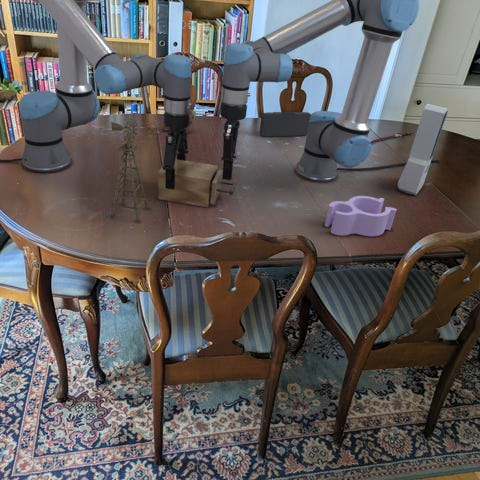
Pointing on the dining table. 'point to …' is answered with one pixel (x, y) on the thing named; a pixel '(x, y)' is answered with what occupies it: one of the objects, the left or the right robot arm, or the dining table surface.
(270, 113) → the handheld gaming console
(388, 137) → the sword
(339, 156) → the right robot arm
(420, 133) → the electronic device
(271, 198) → the dining table surface
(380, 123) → the dining table surface
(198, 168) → the cabinet
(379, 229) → the clip
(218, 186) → the drawer
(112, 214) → the miniature windmill
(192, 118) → the lion figurine
